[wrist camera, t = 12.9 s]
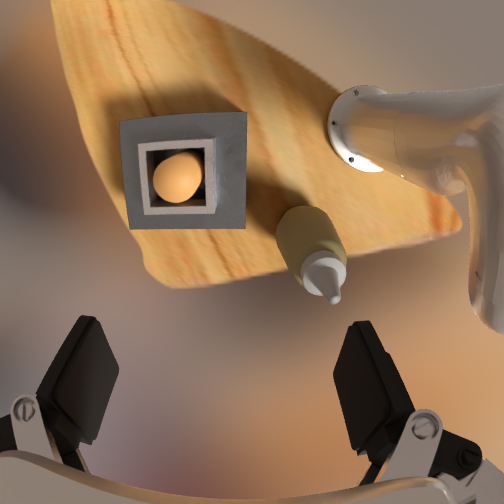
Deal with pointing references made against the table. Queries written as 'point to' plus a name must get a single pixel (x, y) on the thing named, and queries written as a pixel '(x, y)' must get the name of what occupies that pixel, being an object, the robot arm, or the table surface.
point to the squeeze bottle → (312, 251)
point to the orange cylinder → (180, 175)
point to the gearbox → (216, 170)
